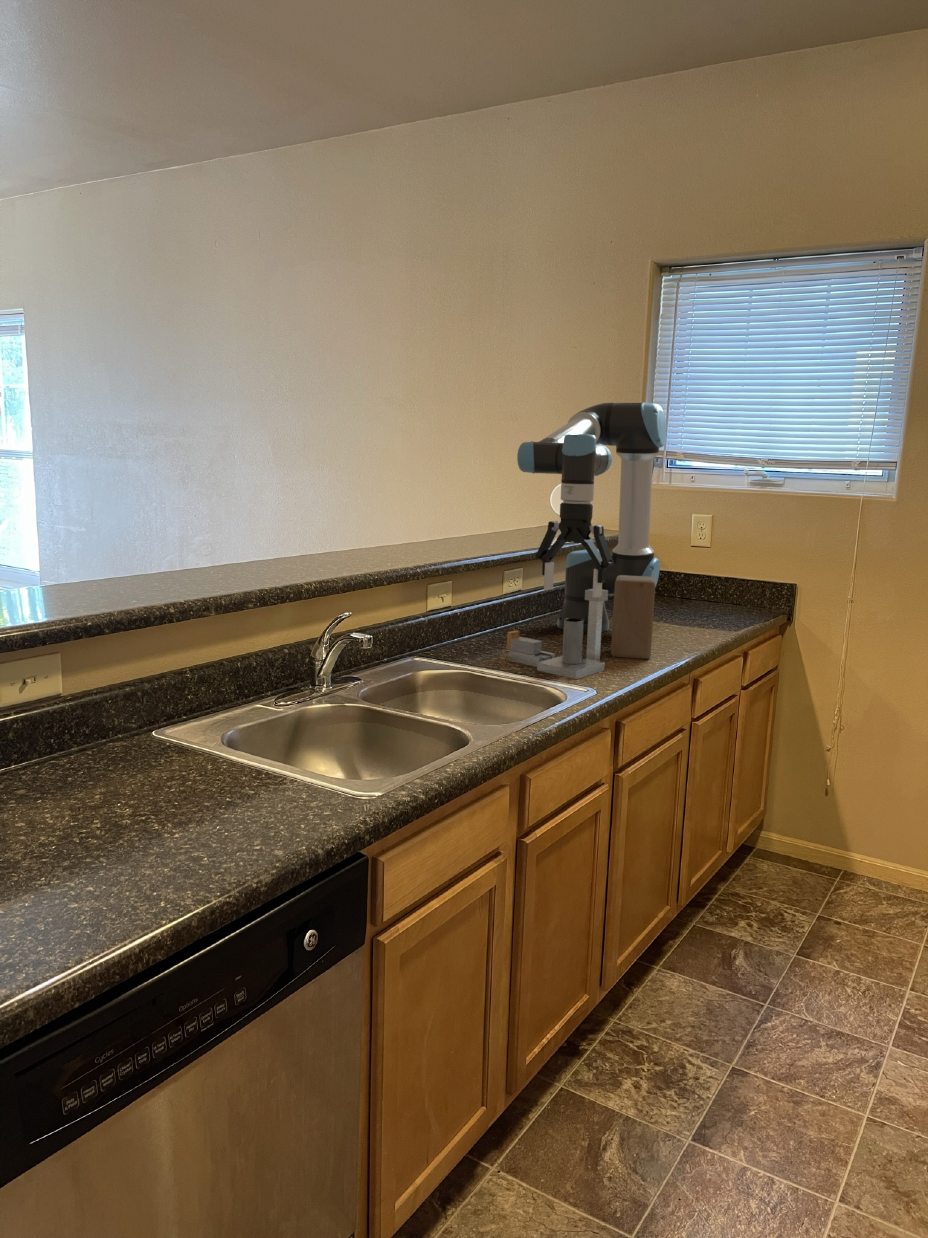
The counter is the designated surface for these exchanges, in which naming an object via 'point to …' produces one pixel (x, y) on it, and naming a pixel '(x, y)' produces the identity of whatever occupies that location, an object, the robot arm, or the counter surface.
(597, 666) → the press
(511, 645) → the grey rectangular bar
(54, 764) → the counter surface
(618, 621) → the wooden block
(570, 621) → the grey hollow tube
